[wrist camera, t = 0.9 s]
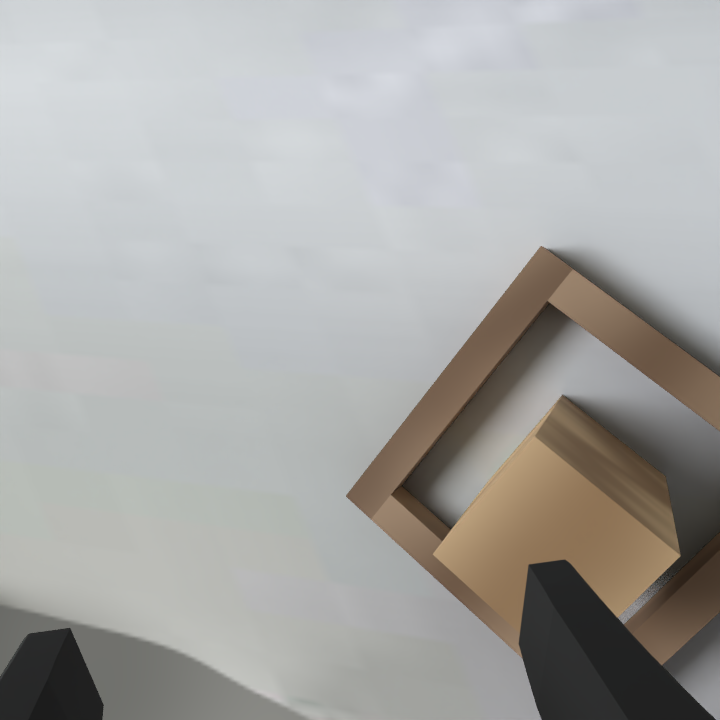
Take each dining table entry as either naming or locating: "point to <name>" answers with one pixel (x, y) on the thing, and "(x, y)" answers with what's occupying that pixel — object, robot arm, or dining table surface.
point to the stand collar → (464, 379)
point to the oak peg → (565, 517)
